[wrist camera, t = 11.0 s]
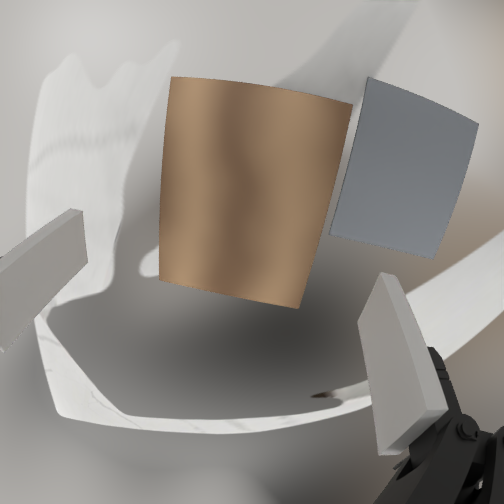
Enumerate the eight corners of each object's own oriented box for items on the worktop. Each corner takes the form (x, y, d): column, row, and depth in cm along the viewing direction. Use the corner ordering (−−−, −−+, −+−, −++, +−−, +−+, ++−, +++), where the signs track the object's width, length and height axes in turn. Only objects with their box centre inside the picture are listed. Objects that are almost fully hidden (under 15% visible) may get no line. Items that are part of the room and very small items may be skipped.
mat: (477, 123, 27) (478, 123, 27) (432, 258, 37) (433, 259, 37) (367, 77, 28) (368, 77, 27) (328, 233, 38) (329, 235, 37)
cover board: (340, 103, 19) (352, 104, 15) (297, 276, 27) (298, 308, 23) (192, 79, 20) (171, 76, 16) (177, 252, 27) (159, 280, 23)
